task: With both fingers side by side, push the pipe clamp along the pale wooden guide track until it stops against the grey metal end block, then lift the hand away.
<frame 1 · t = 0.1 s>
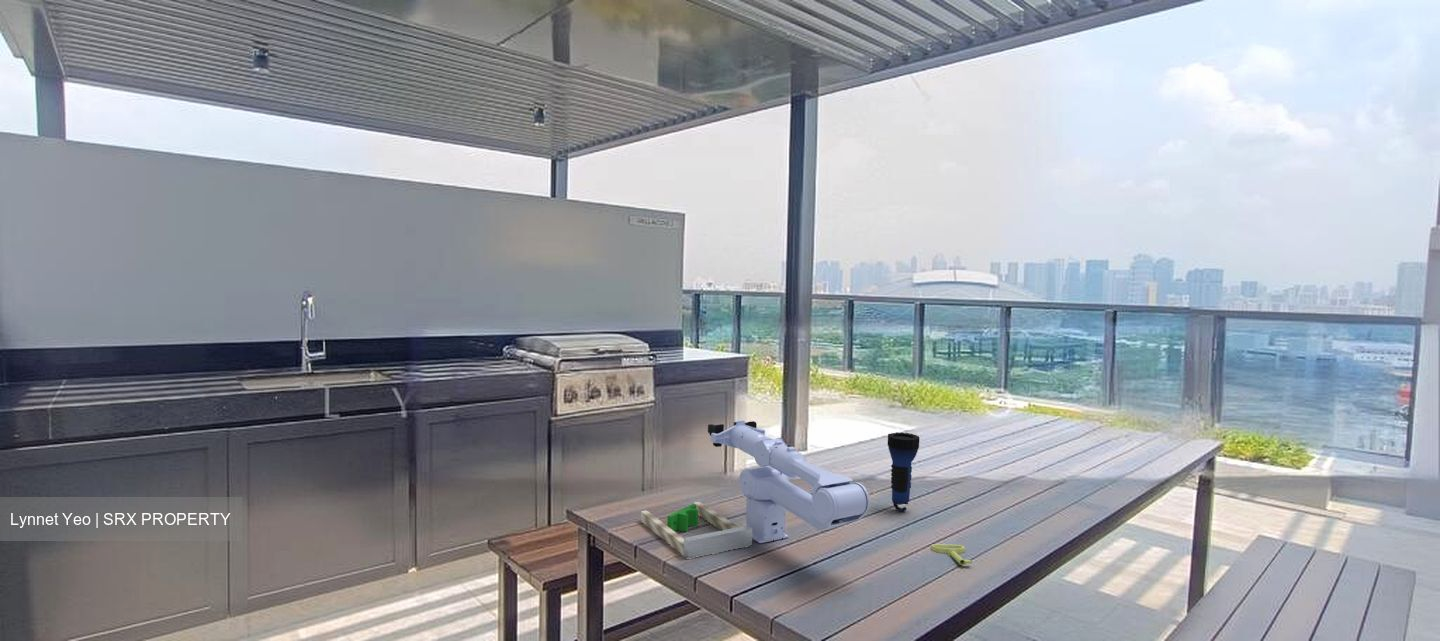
hand: (722, 426, 167), 22 cm above the table, fingers open, 7 cm apart
flashlight: (901, 512, 168), on the table
pipe clamp: (685, 528, 155), on the table
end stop: (718, 551, 141), on the table
guide rails: (691, 531, 152), on the table
key: (952, 558, 140), on the table
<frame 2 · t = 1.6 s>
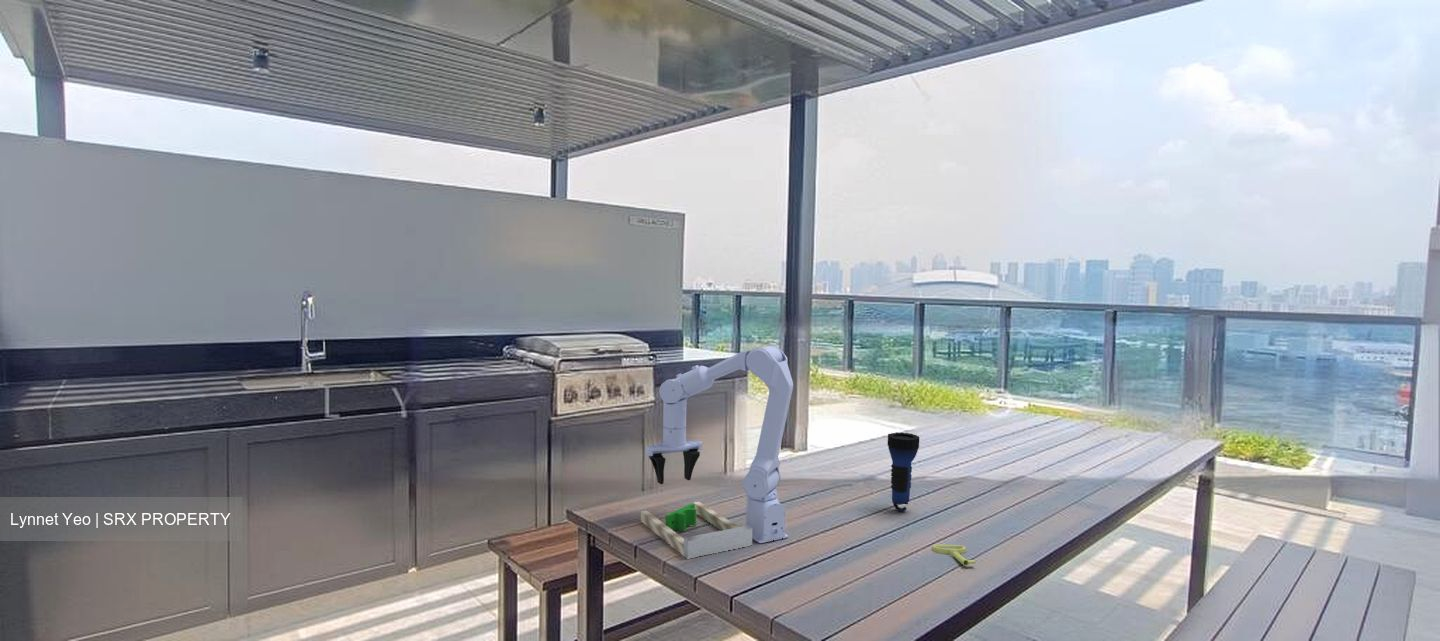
hand: (674, 481, 160), 9 cm above the table, fingers open, 7 cm apart
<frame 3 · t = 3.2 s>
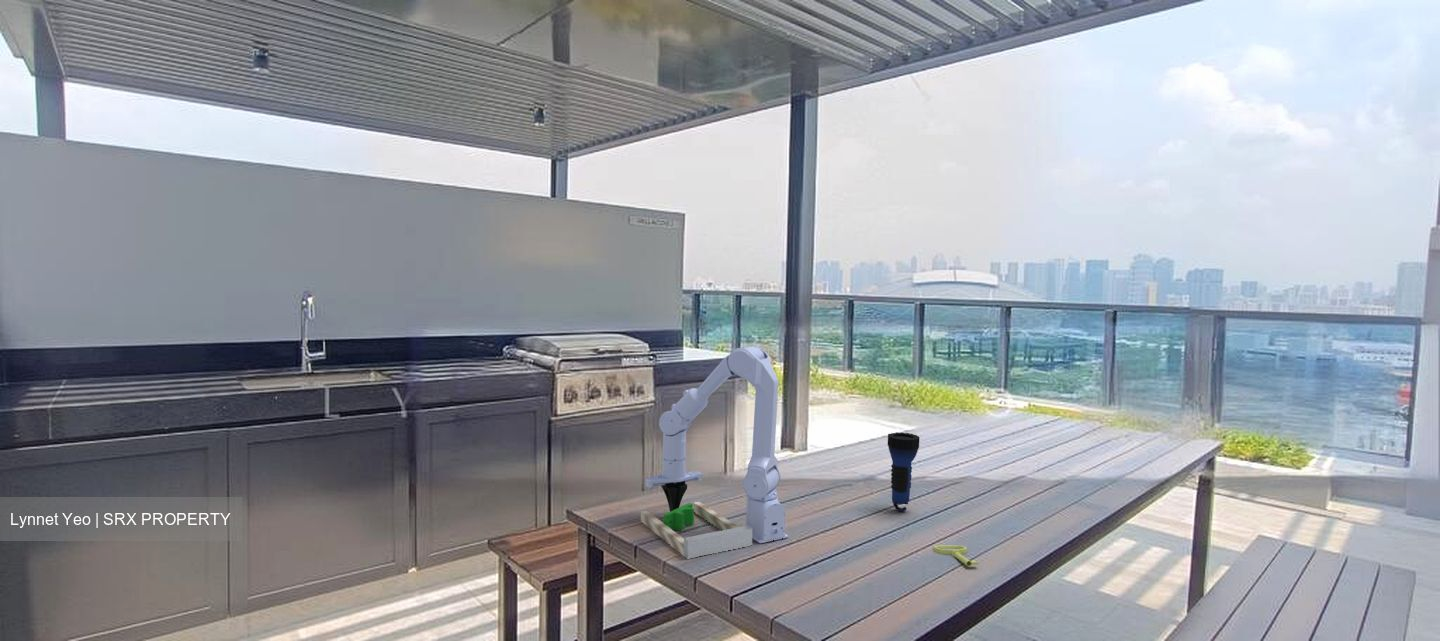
hand: (673, 512, 160), 2 cm above the table, fingers closed
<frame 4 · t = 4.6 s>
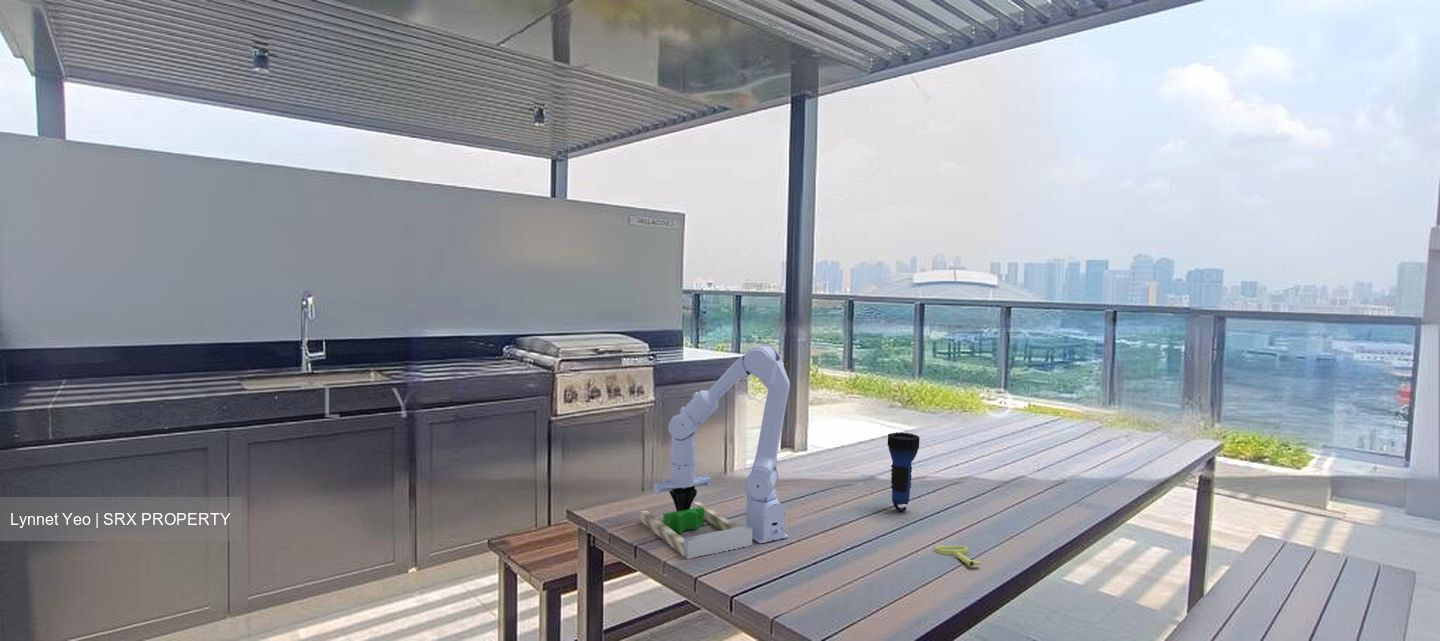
hand: (682, 518, 156), 2 cm above the table, fingers closed, pressing on pipe clamp
pipe clamp: (685, 530, 153), on the table, touching gripper
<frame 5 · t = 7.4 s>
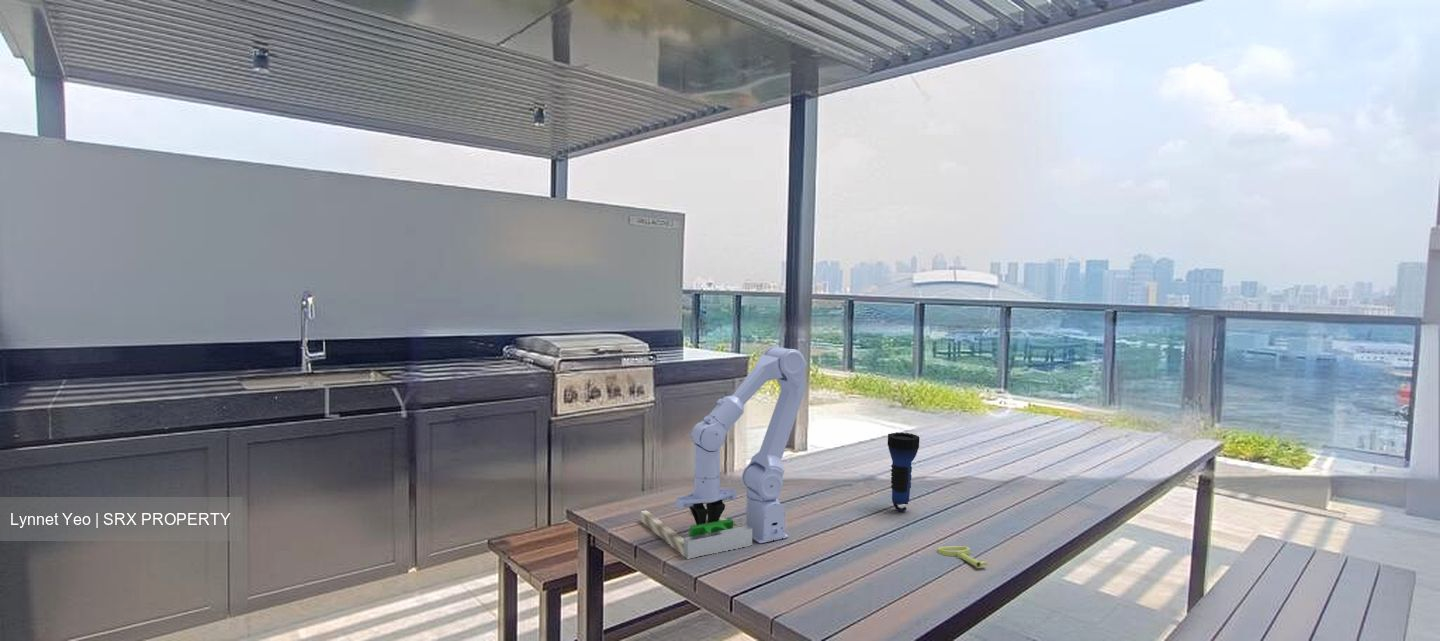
hand: (706, 534, 146), 2 cm above the table, fingers closed on pipe clamp, 2 cm apart
pipe clamp: (711, 543, 144), on the table, touching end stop, gripper
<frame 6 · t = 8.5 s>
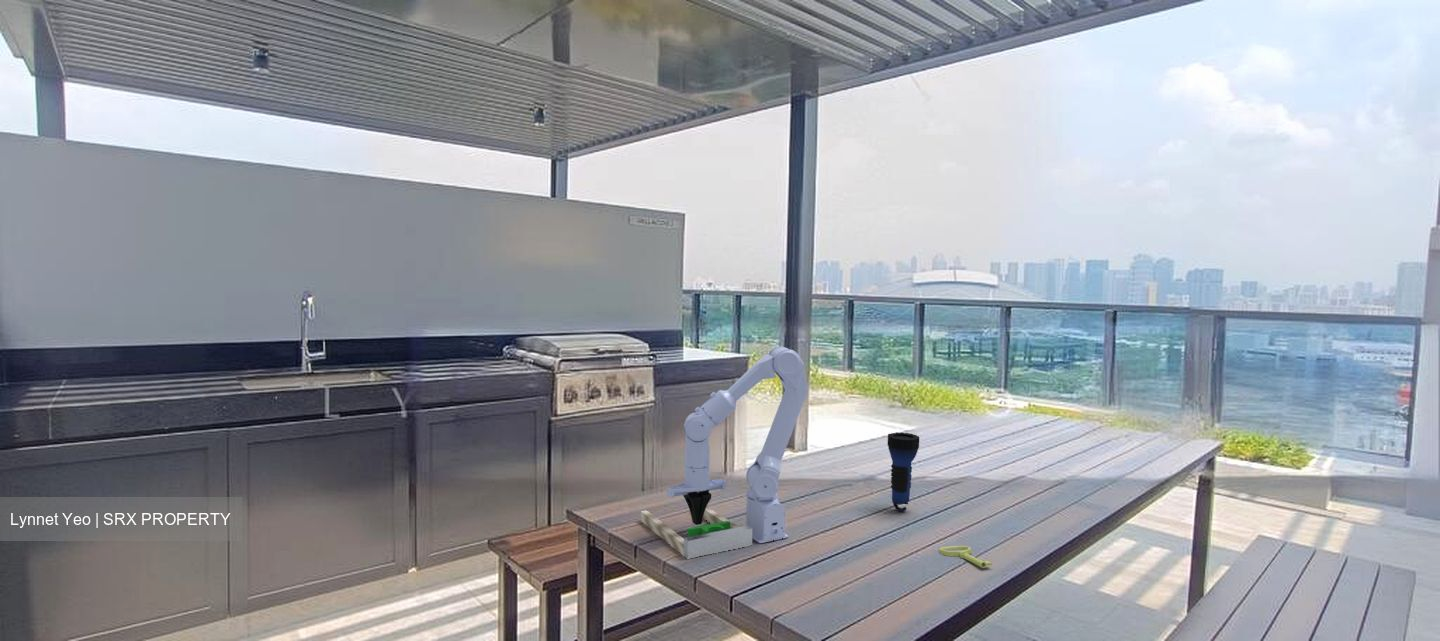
hand: (696, 523, 150), 3 cm above the table, fingers closed
pipe clamp: (711, 546, 144), on the table
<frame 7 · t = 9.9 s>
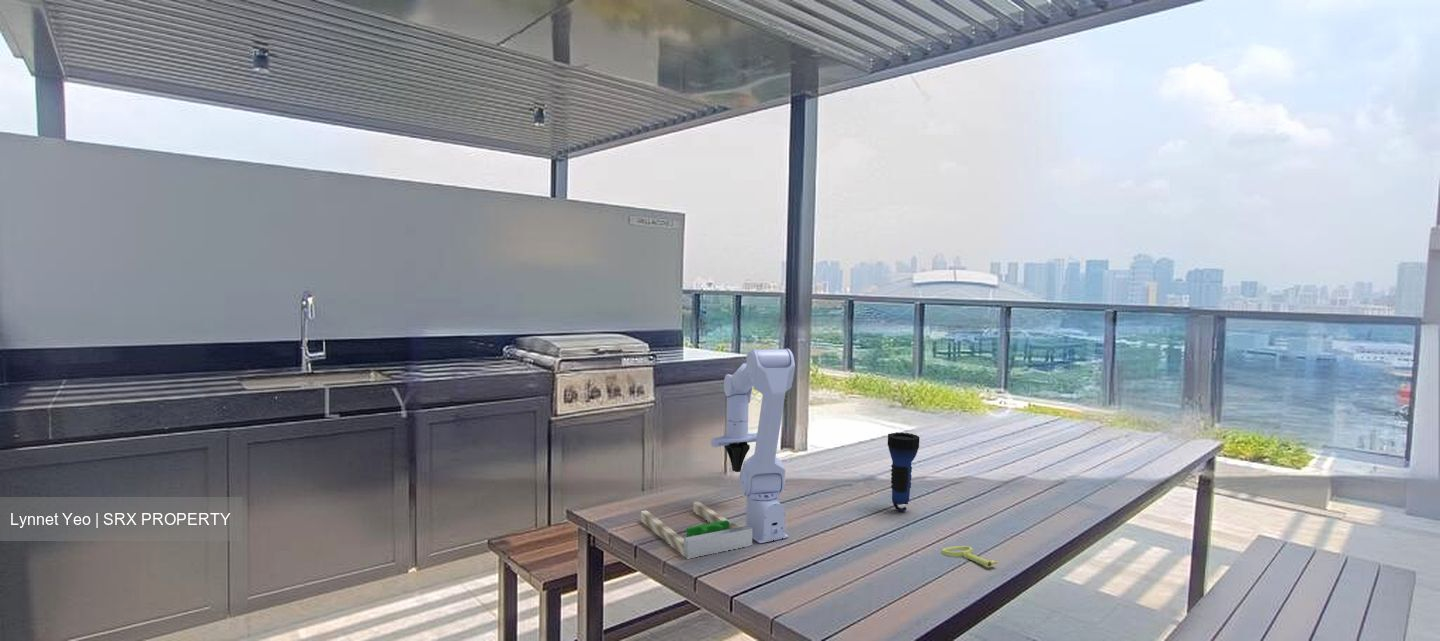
hand: (736, 471, 170), 9 cm above the table, fingers closed
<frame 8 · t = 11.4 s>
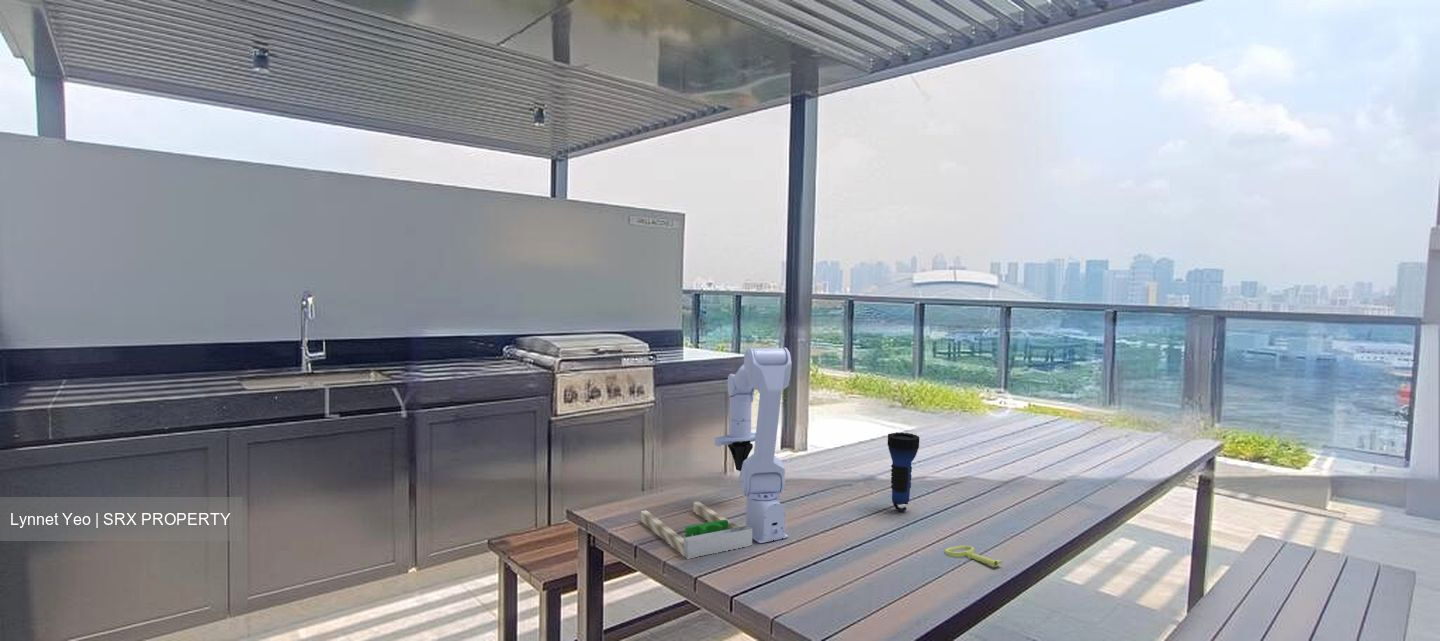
hand: (739, 469, 171), 9 cm above the table, fingers closed
at the end: pipe clamp 1.9 cm from the target spot, on the table; pipe clamp tilted 0° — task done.
